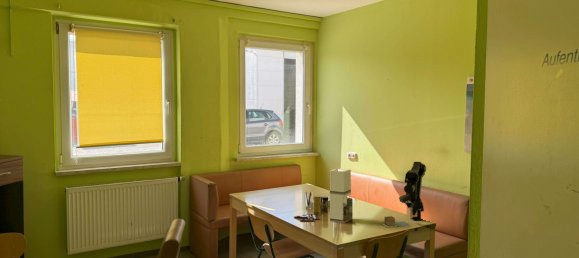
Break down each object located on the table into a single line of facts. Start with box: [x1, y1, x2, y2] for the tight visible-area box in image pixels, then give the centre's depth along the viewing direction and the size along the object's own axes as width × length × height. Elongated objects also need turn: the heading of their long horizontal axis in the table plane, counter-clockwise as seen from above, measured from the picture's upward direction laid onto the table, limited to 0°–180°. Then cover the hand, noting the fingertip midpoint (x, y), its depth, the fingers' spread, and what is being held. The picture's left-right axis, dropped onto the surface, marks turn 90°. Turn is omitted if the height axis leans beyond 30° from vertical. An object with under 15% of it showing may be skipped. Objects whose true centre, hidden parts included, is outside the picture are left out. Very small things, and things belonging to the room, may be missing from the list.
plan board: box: [379, 221, 412, 229], centre depth 281 cm, size 11×17×1 cm, turn 101°
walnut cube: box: [383, 215, 396, 226], centre depth 280 cm, size 5×5×5 cm
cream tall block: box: [329, 168, 352, 224], centre depth 296 cm, size 11×11×35 cm
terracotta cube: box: [406, 207, 417, 218], centre depth 283 cm, size 5×5×5 cm
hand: (411, 214), depth 283 cm, fingers closed on terracotta cube, 5 cm apart
